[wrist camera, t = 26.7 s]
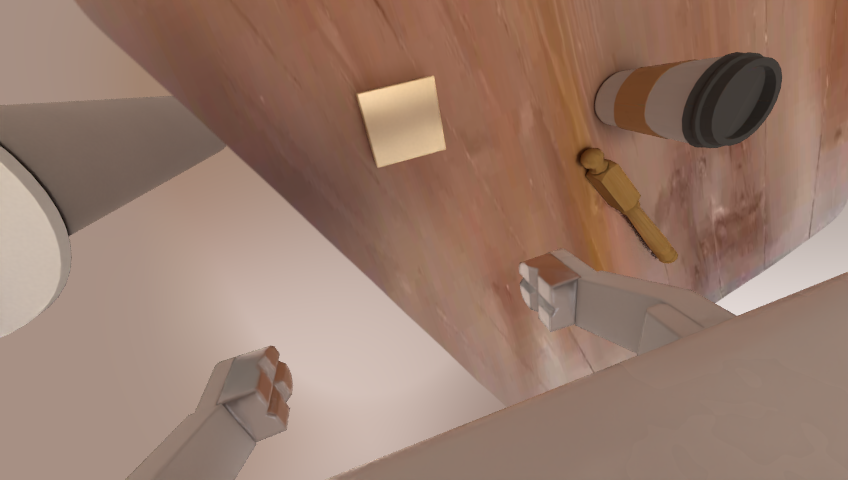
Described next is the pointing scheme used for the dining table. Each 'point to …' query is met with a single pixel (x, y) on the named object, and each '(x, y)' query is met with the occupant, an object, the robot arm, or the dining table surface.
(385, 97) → the plate
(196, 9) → the dining table surface
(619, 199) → the tap handle
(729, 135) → the coffee cup
